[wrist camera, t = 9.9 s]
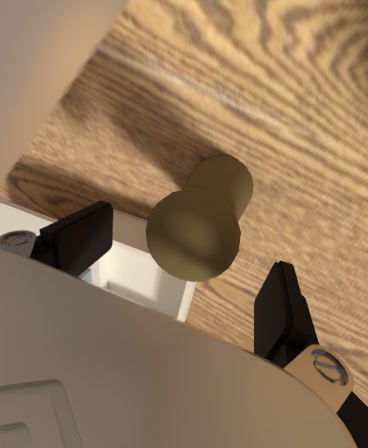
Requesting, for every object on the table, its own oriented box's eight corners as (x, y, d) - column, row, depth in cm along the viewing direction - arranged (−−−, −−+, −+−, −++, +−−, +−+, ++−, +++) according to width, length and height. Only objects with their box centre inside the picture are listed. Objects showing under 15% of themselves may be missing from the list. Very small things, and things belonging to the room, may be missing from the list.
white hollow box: (106, 206, 24) (72, 225, 20) (209, 241, 22) (196, 271, 18) (107, 286, 31) (82, 313, 27) (185, 319, 29) (172, 355, 25)
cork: (252, 149, 17) (243, 186, 8) (254, 216, 19) (250, 306, 10) (184, 159, 19) (112, 197, 10) (194, 218, 21) (144, 294, 12)
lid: (-9, 194, 22) (-60, 209, 18) (98, 235, 19) (62, 260, 16) (21, 287, 29) (-12, 310, 25) (101, 325, 26) (77, 356, 23)
